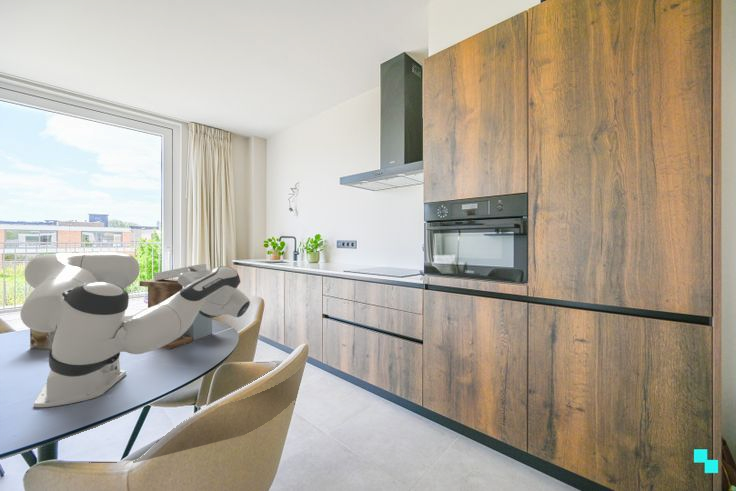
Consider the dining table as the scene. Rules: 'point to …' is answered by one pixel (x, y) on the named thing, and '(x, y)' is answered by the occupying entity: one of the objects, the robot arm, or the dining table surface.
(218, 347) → the dining table surface
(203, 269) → the aluminium bar
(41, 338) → the coffee box
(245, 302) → the robot arm
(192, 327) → the block
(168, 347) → the walnut stand
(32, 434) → the dining table surface
